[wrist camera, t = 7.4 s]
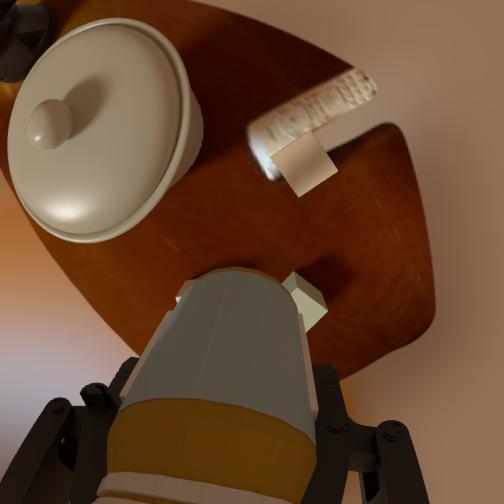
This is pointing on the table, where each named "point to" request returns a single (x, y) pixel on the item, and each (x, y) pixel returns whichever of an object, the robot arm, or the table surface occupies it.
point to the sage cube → (306, 299)
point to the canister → (102, 130)
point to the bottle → (218, 402)
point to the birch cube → (304, 163)
